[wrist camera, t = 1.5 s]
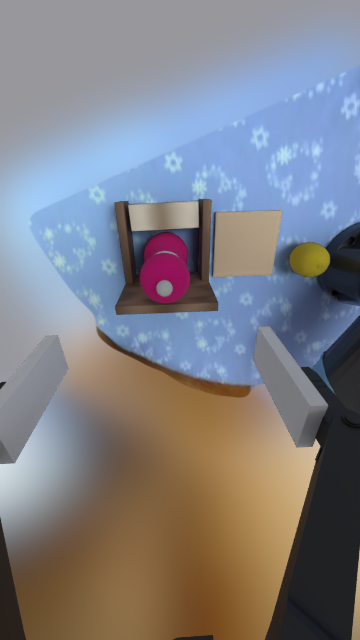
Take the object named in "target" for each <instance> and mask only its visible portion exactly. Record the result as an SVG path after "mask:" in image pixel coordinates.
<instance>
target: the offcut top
mask: <svg viewBox="0 0 360 640" xmlns="http://www.w3.org/2000/svg"><path fill="white" fill-rule="evenodd" d="M128 207H129V215H130V222H131V229H132V231H146V230H164V229H181V228H199V212H198V201H183V202H165V203H147V204H131V205H128Z"/></svg>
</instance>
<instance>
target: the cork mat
mask: <svg viewBox="0 0 360 640" xmlns="http://www.w3.org/2000/svg"><path fill="white" fill-rule="evenodd" d="M281 216H282V210H270V211H236V212H215V234H214V258H213V277H227V276H256V275H272V271H273V265H274V259H275V253H276V247H277V240H278V234H279V228H280V222H281Z"/></svg>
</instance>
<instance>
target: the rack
mask: <svg viewBox="0 0 360 640" xmlns="http://www.w3.org/2000/svg"><path fill="white" fill-rule="evenodd" d="M211 203H212V200H210V199H200V203H199V273H189V274H190V283H189V286H188V289H187V291H186V293H185V294H184V295H183V296H182V297H181V298H180V299H178V300H177V301H175V302H172V303H159V302H156V301H153V300H152V299H150V298H149V297H148V296H147V295H146V294H145V293H144V291H143V289H142V287H141V284H140V275H137V274H136V265H135V256H134V247H133V238H132V230H131V222H130V215H129V207H128V205H129V203H128V201H120V202H115V209H116V217H117V224H118V231H119V238H120V245H121V253H122V260H123V267H124V274H125V282H126V285H125V287H124V289H123V291H122V293H121V295H120V297H119V300H118V302H117V304H116V306H115V310H116V315H122V314H148V313H174V312H200V311H218V301H217V299H216V297H215V294H214V292H213V290H212V287H211V285H210V283H209V260H210V232H211Z"/></svg>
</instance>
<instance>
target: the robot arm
mask: <svg viewBox="0 0 360 640" xmlns="http://www.w3.org/2000/svg"><path fill="white" fill-rule="evenodd" d="M326 250H327V251H328V253H329V256H330V263H329V266H328V268H327V269H326V270H325V271H324V272H323V273H322V274H320V275H318V280H319V284H320V286H321V288H322V290H323V291H324V292H325V293H326V294H327V295H329V296H330V297H332V298H333V299H335V300H337V301H339V302H341V303H345V304H351V305H357V306H360V222H359V223H357V224H354V225H352V226H350V227H349V228H347V229H345V230H344V231H343V232H341V233H340V234H339V235H338V236H337V237H336V238H335V239H334V240H333V241H332V242H331V243H330V244H329V246H328V247H327V248H326ZM253 361H254V363H255V365H256V367H257V369H258V371H259V373H260V375H261V377H262V379H263V381H264V383H265V385H266V387H267V389H268V391H269V393H270V395H271V397H272V399H273V401H274V403H275V405H276V407H277V409H278V411H279V413H280V415H281V417H282V419H283V421H284V423H285V425H286V427H287V429H288V431H289V433H290V435H291V437H292V439H293V441H294V443H295V445H296V447H312V446H313V444H314V442H315V439H317V441H318V443H319V444H320V446H321V447H320V449H319V452H318V454H317V456H316V459H315V460H316V463H315V466H314V470H313V474H312V477H311V481H310V484H309V488H308V491H307V495H306V499H305V502H304V506H303V509H302V513H301V517H300V520H299V524H298V527H297V531H296V534H295V538H294V542H293V545H292V549H291V552H290V556H289V559H288V563H287V566H286V570H285V574H284V577H283V581H282V585H281V588H280V591H279V595H278V599H277V603H276V606H275V609H274V613H273V616H272V620H271V623H270V626H269V629H268V632H267V635H266V638H265V640H351V637H352V626H353V614H354V604H355V593H356V583H357V582H356V581H357V572H358V561H359V550H360V316H358V318H357V319H356V320H355V321H354V322H353V323H352V324H351V325H350V326H349V327H348V328H347V330H346V331H345V332H344V333H343V334H342V335H341V336H340V337H339V338H338V339H337V340H336V341H335V342H334V343H333V344H332V345H331V346H330V348H329V349H328V350H327V351H325V352H323V353H322V355H321V357H320V359H319V360H318V362H317V363H316V364H315V365H314V366H313V368H312V369H311V368H309V367H299V365H298V364H297V363H296V361H295V360H294V358H293V357H292V356H291V354H290V353H289V352H288V350H287V349H286V348H285V346H284V345H283V344H282V342H281V341H280V340H279V338H278V337H277V336H276V334H275V333H274V332H273V330H272V329H271V328H270V326H265V327H258V331H257V337H256V344H255V350H254V357H253ZM67 370H68V366H67V363H66V360H65V357H64V354H63V350H62V347H61V344H60V341H59V338H58V336H57V335H56V336H45V337H44V339H43V340H42V341H41V342H40V343H39V345H38V346H37V347H36V348H35V349H34V350H33V352H32V353H31V354H30V355H29V356H28V358H27V359H26V360H25V361H24V362H23V363H22V365H21V366H20V367H19V368H18V369H17V370H16V372H15V373H14V374H13V375H12V376H11V378H10V379H9V380H8V381H7V382H1V383H0V464H7V463H15V462H16V460H17V458H18V457H19V455H20V453H21V451H22V449H23V448H24V446H25V444H26V442H27V441H28V439H29V437H30V435H31V434H32V432H33V430H34V428H35V426H36V425H37V423H38V421H39V419H40V418H41V416H42V414H43V412H44V411H45V409H46V407H47V405H48V404H49V402H50V400H51V398H52V396H53V395H54V393H55V391H56V389H57V387H58V386H59V384H60V382H61V381H62V379H63V377H64V375H65V374H66V372H67ZM0 640H26V638H25V634H24V630H23V625H22V620H21V615H20V611H19V605H18V601H17V596H16V591H15V586H14V581H13V577H12V572H11V567H10V562H9V557H8V553H7V548H6V543H5V538H4V533H3V529H2V524H1V519H0ZM174 640H213V635H208V636H194V637H181V638H176V639H174Z"/></svg>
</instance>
